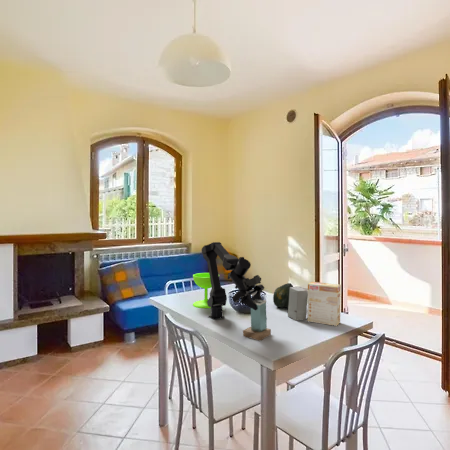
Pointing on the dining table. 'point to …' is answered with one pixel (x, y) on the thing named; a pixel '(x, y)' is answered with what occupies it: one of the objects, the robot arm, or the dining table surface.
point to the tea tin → (259, 316)
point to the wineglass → (202, 282)
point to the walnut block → (256, 333)
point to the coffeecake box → (324, 303)
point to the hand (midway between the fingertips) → (259, 308)
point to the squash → (282, 295)
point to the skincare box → (297, 303)
